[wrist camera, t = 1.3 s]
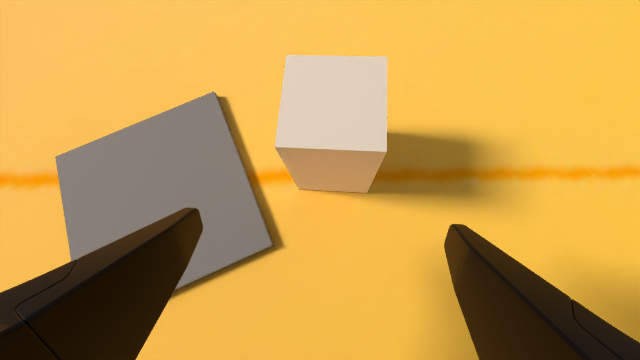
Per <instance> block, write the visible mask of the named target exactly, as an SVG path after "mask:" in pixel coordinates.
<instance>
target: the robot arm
mask: <svg viewBox="0 0 640 360" xmlns="http://www.w3.org/2000/svg"><path fill="white" fill-rule="evenodd" d="M202 232H203V223H202V220H201V216H200V212H199V210H198V209H197V208H190V207H186V208H184V209H181V210H179V211H177V212H175V213H173V214H171V215H169V216H167V217H164V218H162V219H160V220H158V221H156V222H154V223H152V224H150V225H148V226H145V227H143V228H141V229H139V230H137V231H135V232H133V233H131V234H128V235H126V236H124V237H122V238H120V239H118V240H116V241H114V242H111V243H109V244H107V245H105V246H103V247H101V248H99V249H97V250H95V251H92V252H90V253H88V254H86V255H84V256H82V257H80V258H79V259H75V260H73V261H71V262H69V263H67V264H65V265H63V266H60V267H58V268H56V269H54V270H52V271H49V272H47V273H45V274H43V275H41V276H38V277H36V278H34V279H32V280H29V281H27V282H25V283H22V284H20V285H18V286H15V287H13V288H11V289H8V290H6V291H3V292H1V293H0V360H135V359H136V358H137V356H138V354H139V352H140V351H141V349H142V347H143V345H144V343H145V342H146V340H147V338H148V336H149V335H150V333H151V331H152V329H153V327H154V326H155V324H156V322H157V320H158V319H159V317H160V315H161V313H162V311H163V310H164V308H165V306H166V304H167V303H168V301H169V299H170V297H171V295H172V294H173V292H174V290H175V288H176V287H177V285H178V283H179V281H180V279H181V278H182V276H183V274H184V272H185V270H186V268H187V266H188V264H189V262H190V260H191V257H192V255H193V253H194V250H195V248H196V246H197V243H198V241H199V239H200V236H201V234H202ZM444 248H445V253H446V257H447V261H448V266H449V270H450V274H451V278H452V283H453V286H454V290H455V293H456V296H457V299H458V302H459V304H460V307H461V310H462V313H463V316H464V318H465V321H466V324H467V327H468V329H469V332H470V335H471V338H472V341H473V343H474V346H475V349H476V352H477V354H478V357H479V360H640V343H639V342H637V341H636V340H634V339H633V338H631V337H629V336H628V335H626V334H625V333H623V332H621V331H620V330H618V329H617V328H615V327H613V326H612V325H610V324H609V323H607V322H606V321H604V320H603V319H601V318H600V317H598V316H597V315H595V314H594V313H592V312H591V311H589V310H588V309H587V308H585V307H584V306H582V305H581V304H579V303H578V302H576V301H575V300H573V299H572V300H571V298H570V297H569V296H568V295H566V294H565V293H563V292H562V291H560V290H559V289H557V288H556V287H554V286H553V285H551V284H550V283H549V282H547V281H546V280H544V279H543V278H541V277H540V276H538V275H537V274H535V273H534V272H532V271H531V270H530V269H528V268H527V267H525V266H524V265H522V264H521V263H519V262H518V261H516V260H515V259H514V258H512V257H511V256H509V255H508V254H506V253H505V252H503V251H502V250H500V249H499V248H497V247H496V246H495V245H493V244H492V243H490V242H489V241H487V240H486V239H484V238H483V237H481V236H480V235H478V234H477V233H476V232H474V231H473V230H471V229H470V228H468V227H467V226H465V225H462V224H452V225H450V227H449V230H448V233H447V236H446V239H445V243H444Z"/></svg>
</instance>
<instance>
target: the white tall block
mask: <svg viewBox="0 0 640 360" xmlns="http://www.w3.org/2000/svg"><path fill="white" fill-rule="evenodd" d="M275 148H276V150H277V152H278V153H279V155H280V157H281V159H282V160H283V162H284V164H285V166H286V168H287V169H288V171H289V173H290V175H291V176H292V178H293V180H294V182H295V183H296V185H297V187H298V189H305V190H323V191H341V192H359V193H367V192H368V190H369V188H370V186H371V184H372V182H373V180H374V177H375V175H376V173H377V171H378V169H379V167H380V165H381V163H382V161H383V159H384V157H385V155H386V153H387V57H377V56H312V55H286V63H285V71H284V78H283V86H282V94H281V102H280V110H279V118H278V126H277V134H276V142H275Z"/></svg>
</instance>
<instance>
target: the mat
mask: <svg viewBox="0 0 640 360" xmlns="http://www.w3.org/2000/svg"><path fill="white" fill-rule="evenodd" d="M56 164H57V170H58V177H59V183H60V190H61V197H62V203H63V210H64V216H65V223H66V229H67V236H68V242H69V249H70V255H71V261H73V260H75V259H79V258H80V257H82V256H84V255H86V254H88V253H90V252H92V251H95V250H97V249H99V248H101V247H103V246H105V245H107V244H109V243H111V242H114V241H116V240H118V239H120V238H122V237H124V236H126V235H128V234H131V233H133V232H135V231H137V230H139V229H141V228H143V227H145V226H148V225H150V224H152V223H154V222H156V221H158V220H160V219H162V218H164V217H167V216H169V215H171V214H173V213H175V212H177V211H179V210H181V209H184V208H186V207H190V208H197V209H198V210H199V212H200V216H201V220H202V223H203V232H202V234H201V236H200V239H199V241H198V243H197V246H196V248H195V250H194V253H193V255H192V257H191V260H190V262H189V264H188V266H187V268H186V270H185V272H184V274H183V276H182V278H181V279H180V281H179V283H178V285H177V287H176V288H175V290H177V289H179V288H182V287H184V286H186V285H188V284H190V283H193V282H195V281H197V280H199V279H201V278H204V277H206V276H208V275H210V274H212V273H215V272H217V271H219V270H221V269H223V268H226V267H228V266H230V265H232V264H234V263H237V262H239V261H241V260H243V259H245V258H248V257H250V256H252V255H254V254H256V253H259V252H261V251H263V250H265V249H267V248H270V247H272V246H274V244H273V241H272V238H271V236H270V233H269V230H268V228H267V225H266V223H265V220H264V217H263V215H262V212H261V209H260V207H259V204H258V201H257V199H256V196H255V194H254V191H253V188H252V186H251V183H250V180H249V178H248V175H247V172H246V170H245V167H244V165H243V162H242V159H241V157H240V154H239V151H238V149H237V146H236V143H235V141H234V138H233V136H232V133H231V130H230V128H229V125H228V122H227V120H226V117H225V115H224V112H223V109H222V107H221V104H220V101H219V99H218V96H217V95H216V93H215V92H212V93H209V94H207V95H204V96H202V97H199V98H197V99H195V100H192V101H190V102H187V103H185V104H182V105H180V106H178V107H175V108H173V109H170V110H168V111H165V112H163V113H161V114H158V115H156V116H153V117H151V118H148V119H146V120H144V121H141V122H139V123H136V124H134V125H131V126H129V127H127V128H124V129H122V130H119V131H117V132H114V133H112V134H110V135H107V136H105V137H102V138H100V139H97V140H95V141H93V142H90V143H88V144H85V145H83V146H80V147H78V148H76V149H73V150H71V151H68V152H66V153H63V154H61V155H59V156H56ZM175 290H174V291H175Z"/></svg>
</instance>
